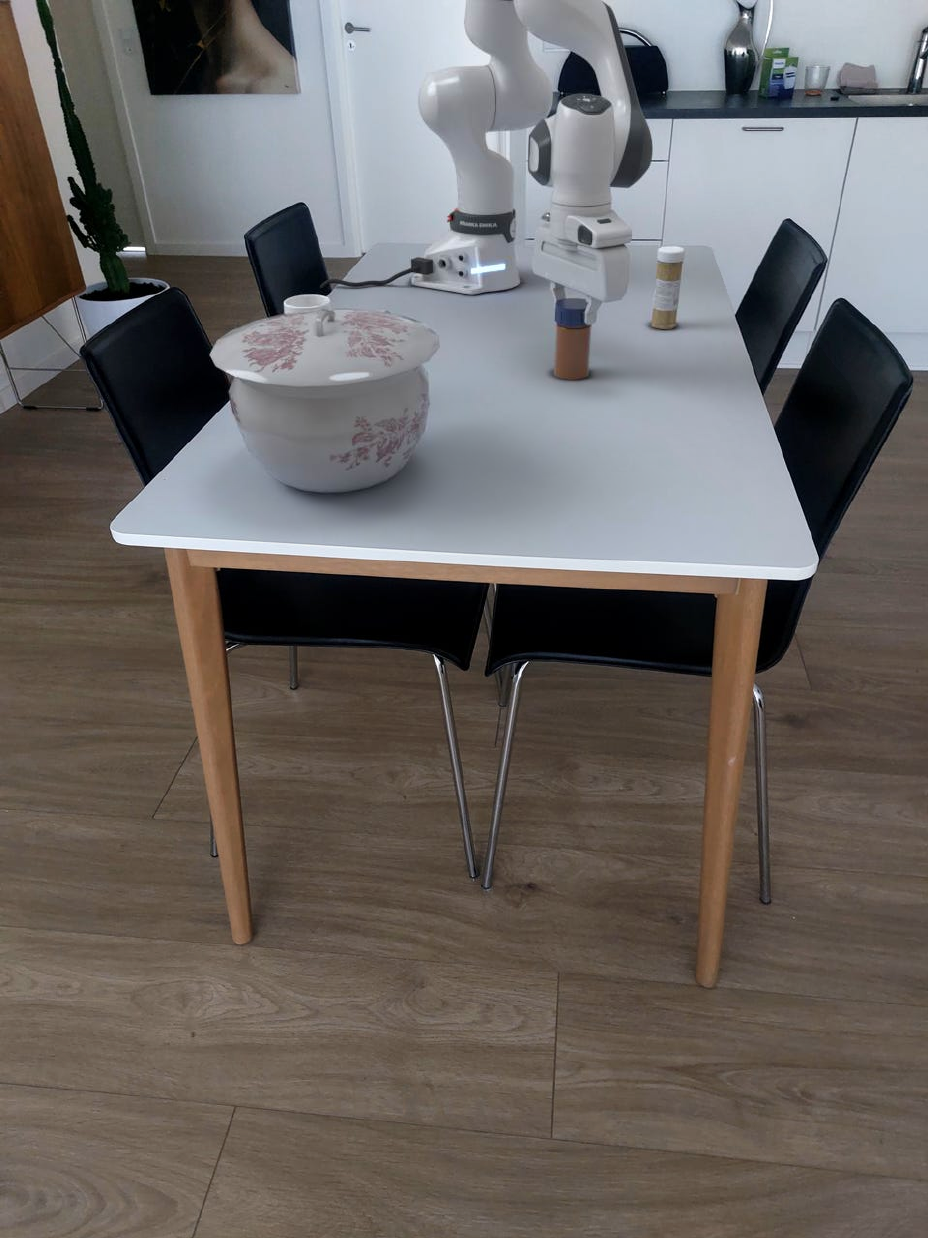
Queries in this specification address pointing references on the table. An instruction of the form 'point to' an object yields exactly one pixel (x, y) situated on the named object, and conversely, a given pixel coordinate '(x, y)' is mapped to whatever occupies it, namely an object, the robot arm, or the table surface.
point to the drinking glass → (306, 303)
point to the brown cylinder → (572, 352)
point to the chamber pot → (329, 394)
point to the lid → (570, 312)
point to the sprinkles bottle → (667, 286)
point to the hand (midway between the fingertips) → (574, 317)
